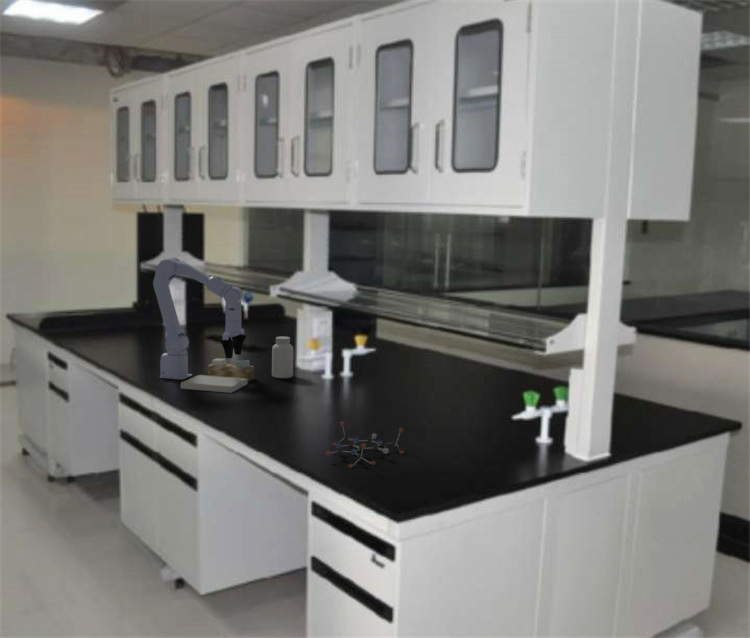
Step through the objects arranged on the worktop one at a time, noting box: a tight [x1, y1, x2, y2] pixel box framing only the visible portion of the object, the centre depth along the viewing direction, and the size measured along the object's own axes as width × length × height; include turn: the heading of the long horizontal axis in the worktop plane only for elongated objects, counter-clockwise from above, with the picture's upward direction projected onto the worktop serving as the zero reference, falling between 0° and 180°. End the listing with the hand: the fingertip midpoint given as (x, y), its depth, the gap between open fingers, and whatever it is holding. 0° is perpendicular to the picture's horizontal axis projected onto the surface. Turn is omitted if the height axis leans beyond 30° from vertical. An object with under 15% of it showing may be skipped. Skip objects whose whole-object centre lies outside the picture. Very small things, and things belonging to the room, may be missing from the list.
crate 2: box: [235, 359, 250, 368], centre depth 297 cm, size 4×4×2 cm
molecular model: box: [325, 421, 405, 469], centre depth 214 cm, size 24×7×20 cm
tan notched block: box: [207, 363, 255, 382], centre depth 299 cm, size 16×5×5 cm, turn 76°
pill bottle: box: [271, 335, 294, 379], centre depth 303 cm, size 8×8×15 cm
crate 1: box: [211, 357, 227, 366], centre depth 300 cm, size 4×4×2 cm
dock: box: [180, 374, 248, 394], centre depth 286 cm, size 19×14×2 cm
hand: (233, 356), depth 297 cm, fingers open, 7 cm apart
